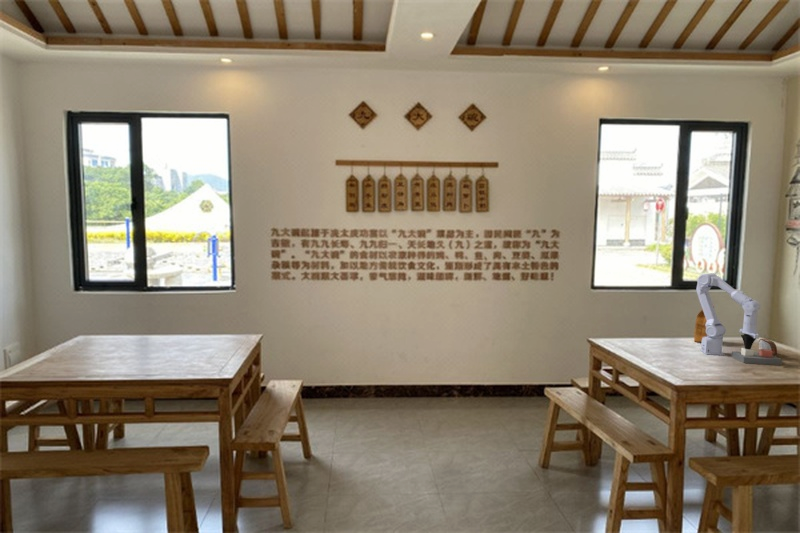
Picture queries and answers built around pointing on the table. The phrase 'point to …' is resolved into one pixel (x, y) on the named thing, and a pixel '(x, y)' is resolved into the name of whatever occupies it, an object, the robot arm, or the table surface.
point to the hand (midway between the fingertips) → (747, 348)
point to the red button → (765, 352)
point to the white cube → (747, 352)
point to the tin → (768, 345)
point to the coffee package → (700, 327)
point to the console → (757, 359)
